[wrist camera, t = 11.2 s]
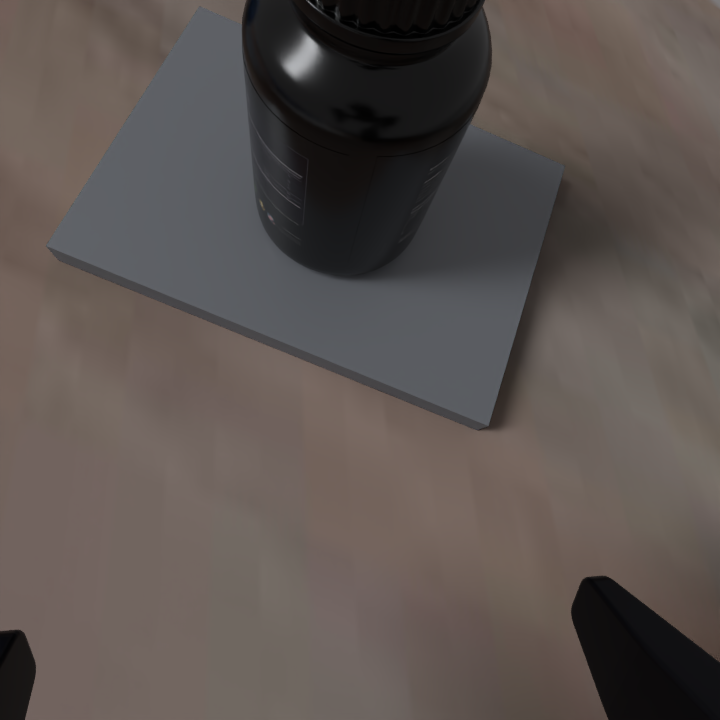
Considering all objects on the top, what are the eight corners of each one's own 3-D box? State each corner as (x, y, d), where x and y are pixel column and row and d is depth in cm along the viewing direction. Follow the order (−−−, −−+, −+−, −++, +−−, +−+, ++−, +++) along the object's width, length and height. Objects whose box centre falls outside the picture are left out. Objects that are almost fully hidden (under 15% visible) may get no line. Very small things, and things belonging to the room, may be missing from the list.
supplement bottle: (369, 116, 23) (461, -254, 12) (445, 244, 22) (626, -30, 11) (224, 166, 22) (171, -213, 10) (299, 308, 21) (333, 60, 9)
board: (552, 181, 26) (565, 166, 24) (477, 430, 22) (488, 426, 21) (203, 29, 25) (199, 6, 24) (58, 260, 21) (45, 245, 20)
